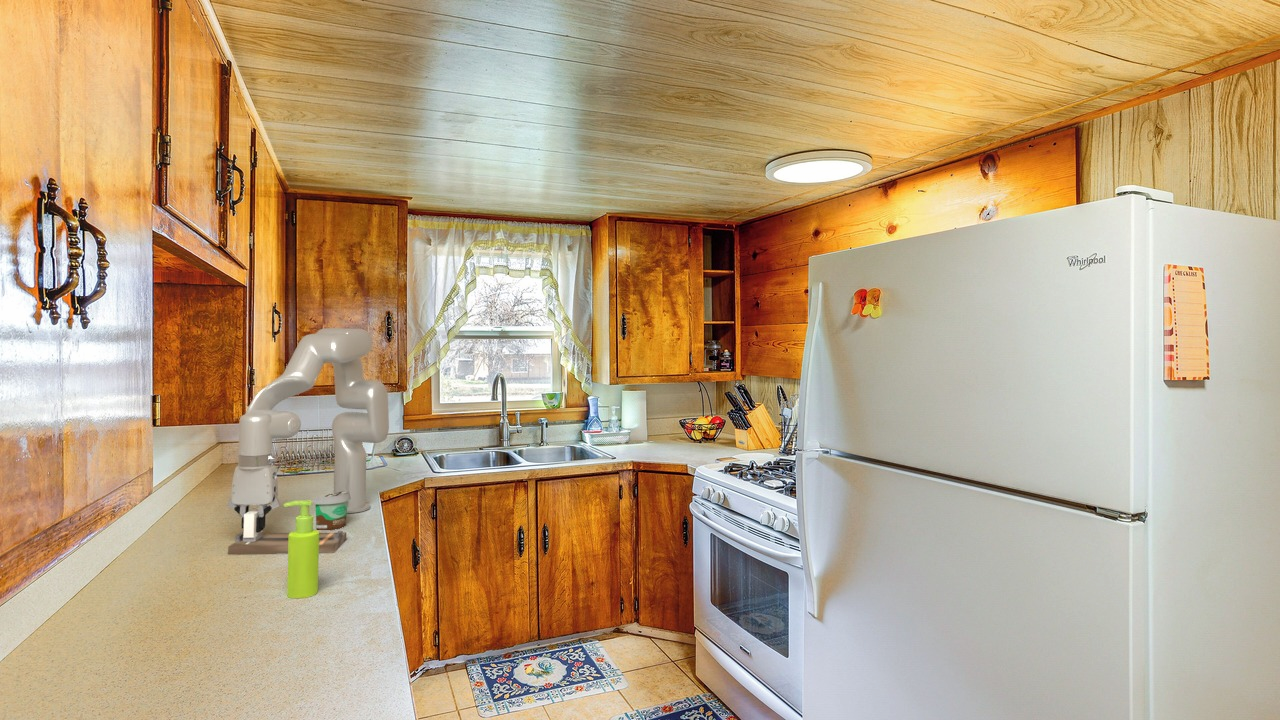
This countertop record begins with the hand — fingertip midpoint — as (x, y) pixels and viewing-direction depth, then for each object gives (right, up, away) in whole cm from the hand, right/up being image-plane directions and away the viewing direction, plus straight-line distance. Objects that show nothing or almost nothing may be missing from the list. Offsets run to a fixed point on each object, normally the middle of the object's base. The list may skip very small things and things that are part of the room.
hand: (253, 530), depth 173 cm
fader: (0, -2, 0) cm, 2 cm away
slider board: (+9, -5, +2) cm, 10 cm away
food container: (+12, -5, +21) cm, 25 cm away
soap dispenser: (+28, -6, -31) cm, 42 cm away
